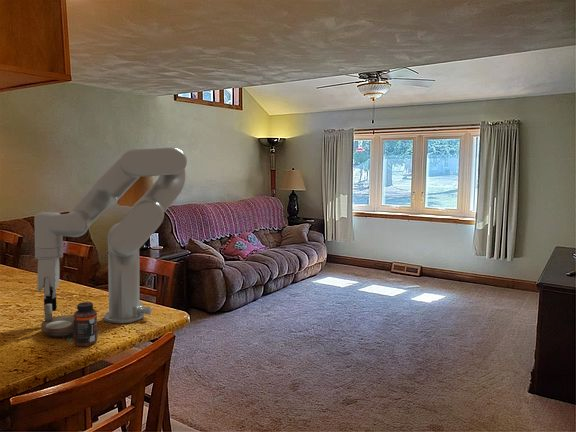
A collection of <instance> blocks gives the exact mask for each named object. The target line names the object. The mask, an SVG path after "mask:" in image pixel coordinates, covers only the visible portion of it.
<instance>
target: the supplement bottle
mask: <svg viewBox="0 0 576 432" xmlns="http://www.w3.org/2000/svg"><path fill="white" fill-rule="evenodd" d="M76 309H77V310H76V311H75V312H74V313H73V315H74V336H73V342H74V343H73V344H74V345H75V346H76V347H88V346H92V345H94V344H95V343H97V341H98V316H97V312H98V311H96V310H95V308H94V303H93V302H91V301H84V302H80V303H78V304H77V305H76Z"/></svg>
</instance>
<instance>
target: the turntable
mask: <svg viewBox="0 0 576 432" xmlns="http://www.w3.org/2000/svg"><path fill="white" fill-rule="evenodd" d="M43 311H44V321H42V322H41V324H40V330H41V332H43V334H68V333H74V314H63V315H59V316H53V311H52V304H45V305H44V304H43Z"/></svg>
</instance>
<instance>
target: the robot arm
mask: <svg viewBox="0 0 576 432" xmlns="http://www.w3.org/2000/svg"><path fill="white" fill-rule="evenodd" d="M187 164H188V160H187V155H186V154H185V153H184V151H183V150H181V149H180V148H178V147H172V146H171V147H158V148H155V147H154V148H133V149H132V148H131V149H129V150H128V149H127V150H126V151H125V152H124V153H123V154H122V155H120V157H119V158H118V159H117V160H116V161H115V162H114V163H113V165H112V166H110V168H108V170H106V171H105V173H104V174H103V175H102V176H101V177H100V178H98V180H97V181H95V183H94V184H93V186H92V187H91V189H90V190H89V191H88V193H87V194H86V195H85V196H84V197H83V198H82V199H81V200H80V201H78V203H77V204H76V205H75V206H74V207H73V208H72V209H71V210H70V211H69V213H62V214H61V213H60V212H57V211H56V212H54V211H41V212H37V213H36V214H35V215H34V219H33V220H34V221H33V223H34V225H33V226H34V257H35V259H36V260H38V261H37V262H38V263H37V278H36V279H37V280H36V281H37V284H36V285H37V288H36V289H37V292H41V291H42V290H43V306H44V305H45V304H52V312H56V310H57V309H58V308H57V292H56V291H57V288H58V286H59V283H60V259H62V258H63V257H64V246H63V245H64V243H63V242H64V240H63V238H64V237H70V238H71V237H72V238H79V237H81V236H83V235H85V234H86V233H87V231H88V230H89V227H91V225H92V224H94V222H95V221H97V219H98V218H99V217H101V216H100V215H102V214H103V213H104V212H105V211H106V210H107V209H108V208H109V207H110V206H112V205H114V204H116V203H117V201H119V200H120V199H121V198H122V197H123V196H124V195H125V193H126V192H127V191H128V190H129V189H130V188H131V187H132V186H133V185H134V184H135V183H136V182H137V181H138V180H139V179H140V178H142V177H157V176H158V178H157V180H156V181H155V182H154V183H153V184H152V186H151V187H150V188H149V189H148V190H147V191H146V192H145V193H144V194H143V196H141V197H140V198H139V199H138V200H137V201H135V203H134V204H133V206H132V207H131V210H130V211H129V212H128V214H126V216H125V217H124V218H123V219H122V220H121V221H120V222H116V223H115V224H113V225H112V226H111V227H110V228H109V231H108V233H107V251H108V253H107V254H108V256H107V257H108V260H107V263H108V265H107V266H108V267H107V269H108V275H107V276H108V278H107V279H108V312H105V313H104V314H103V320H104V322H108V323H110V324H129V323H134V322H137V321H140V320H142V319H143V318H144V317H145V315H151V314H152V308H151V306H144V305H143V301H140V249H141V247H142V246H143V245H145V243H146V242H147V241H148V240H149V239H150V237H151V236H152V235H153V234H154V233H155V232H156V231H157V230H158V228H160V226H161V224H163V221H164V218H165V212H166V211H167V210H168V209H169V207H170V206H171V205H172V204H173V203H174V202H175V200H176V199H177V197H179V195H180V194H181V192H182V190H183V189H184V186H185V184H186V167H187Z"/></svg>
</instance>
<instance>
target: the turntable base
mask: <svg viewBox="0 0 576 432" xmlns="http://www.w3.org/2000/svg"><path fill="white" fill-rule="evenodd" d="M46 334H47V333H46ZM47 336H48V337H51V338H57V339H58V338H66V339H67V342H69V343H70V342H73V337H74V333H68V334H47Z"/></svg>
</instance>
